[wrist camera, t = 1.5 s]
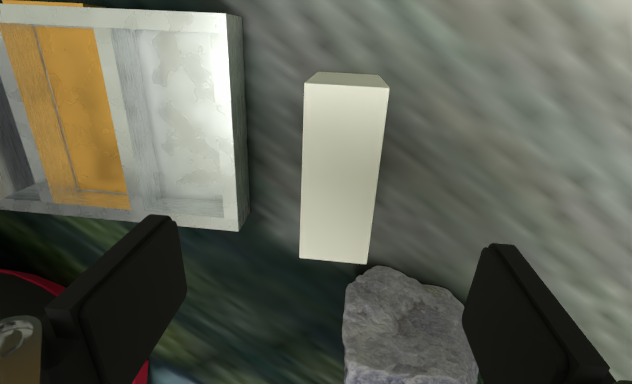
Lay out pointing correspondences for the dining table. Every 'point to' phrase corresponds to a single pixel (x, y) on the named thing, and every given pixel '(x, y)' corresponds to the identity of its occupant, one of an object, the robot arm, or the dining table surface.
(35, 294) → the helmet
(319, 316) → the dining table surface
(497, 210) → the dining table surface
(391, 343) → the rock
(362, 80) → the off-white rectangular block
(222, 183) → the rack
